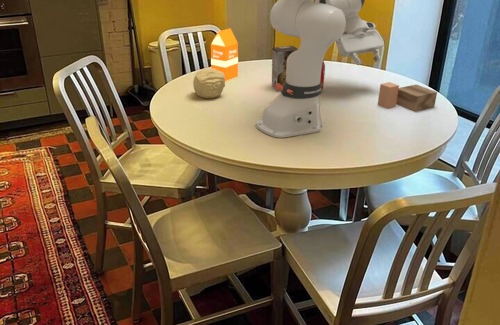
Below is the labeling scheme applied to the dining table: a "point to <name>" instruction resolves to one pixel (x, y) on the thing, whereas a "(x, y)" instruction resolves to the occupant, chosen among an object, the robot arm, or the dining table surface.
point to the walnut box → (416, 98)
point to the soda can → (322, 75)
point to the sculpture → (209, 83)
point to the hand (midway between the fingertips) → (369, 62)
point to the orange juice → (225, 54)
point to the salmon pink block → (388, 95)
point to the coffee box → (280, 64)
